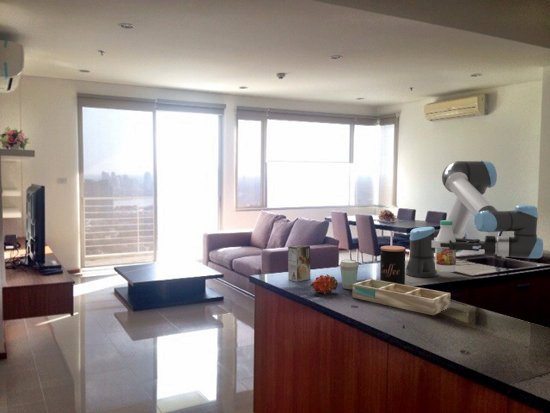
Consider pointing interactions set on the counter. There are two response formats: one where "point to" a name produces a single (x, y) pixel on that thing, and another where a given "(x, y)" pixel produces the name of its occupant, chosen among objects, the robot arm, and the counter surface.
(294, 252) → the coffee box
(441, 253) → the milk bottle
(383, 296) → the wooden compartment tray
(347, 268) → the coffee cup
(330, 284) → the dragon fruit
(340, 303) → the counter surface
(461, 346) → the counter surface
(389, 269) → the coffee jar
